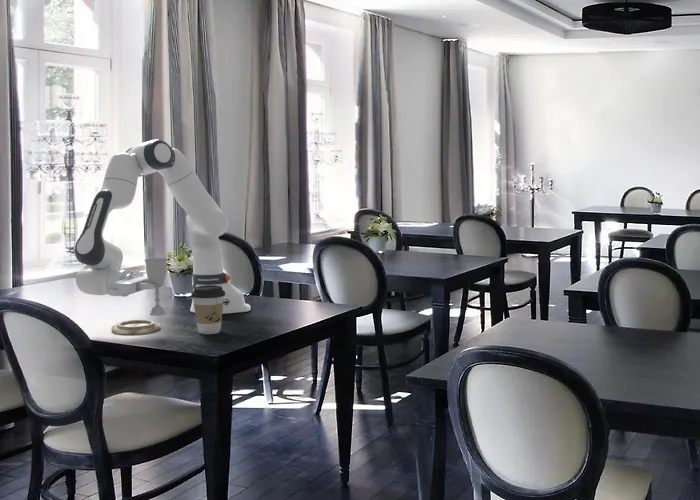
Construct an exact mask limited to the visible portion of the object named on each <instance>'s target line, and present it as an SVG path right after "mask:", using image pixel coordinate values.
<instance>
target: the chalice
mask: <svg viewBox="0 0 700 500" xmlns="http://www.w3.org/2000/svg"><path fill="white" fill-rule="evenodd" d="M167 261H168V258H164V257H158V258H157V257H155V258H154V257H153V258H146V259H144V262H145V266H146V267H145V268H146V272H147V277H148V280H149V282H150V283H155V289H154V290H155V291H154V292H155V293H154V295H155V298H154V301H155V305H154V306H153V307H152V309H151V311H150V314H149V316H153V317H154V316H155V317H158V316H159V317H160V316H165V315H167V313H166V311H165V310H164V307H163V306H161V305H160V301H161V298H160V294H161V293H160V291H159V290H160V288H161V287H163V286H162V284H163V282H164V281H165V279H166V276H167V264H166V263H167Z"/></svg>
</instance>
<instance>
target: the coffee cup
mask: <svg viewBox="0 0 700 500" xmlns="http://www.w3.org/2000/svg"><path fill="white" fill-rule="evenodd" d="M190 294H191V297H192V300H193V302H194V308H195V314H194V315H195V319H196V326H197V331H198V333H199V334H200V335H214V334H215V335H216V334H219V333H220V332H221V329H222V319H223V314H222V311H223V300H224V296H225V291H223V289H222V287H221V286H216V285H205V286H198V287H195V288H194V291H193V290H192V292H191V293H190Z"/></svg>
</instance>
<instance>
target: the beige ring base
mask: <svg viewBox="0 0 700 500" xmlns="http://www.w3.org/2000/svg"><path fill="white" fill-rule="evenodd" d="M160 330H161V324H160V323H159V322H156V321H154V320H151V319H142V318H141V319H130V320H123V321H120V322H117V323H116V324H114V325H112V326H111V333H113V334H115V333H116V335H121V334H127V335H126V336H129V335H131V336H135V335H136V336H137V335H147V334H151V333H155V332H158V331H160Z"/></svg>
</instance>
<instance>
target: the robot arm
mask: <svg viewBox="0 0 700 500" xmlns="http://www.w3.org/2000/svg"><path fill="white" fill-rule="evenodd" d="M156 172H157V173H158V174H160V175H161V176H162V178H163V180H164V182H165V184H166V185H167V187H168V188H169V191H170V192H171V194H172V195H173V196H174V198H175V201H176V202H177V204H179V206H180V207H181V208H182V209H183V210H184V212H185V213H186V214H187V215H186V217H185V222H186V225H187V227H188V235H189V240H190V244H191V251H192V268H193V269H192V270H193V271H192V275H191V283H192V284H191V285H192V288H193V290H192V292H193V291H194V288H195V287H198V286H205V285H216V286H221V287H222V289H223V291H225V296H224V300H223V311H222V315H223V314H232V313H233V314H234V313H246V312H249V311H251V309H252V308H251V305H250V304H249V303H246V302H245V297H244V294H243V292H242V291H241V290H240V289H239V288H237V287H236V286H234V285H233V284H232V283H230V282H229V281H230V280H231V275H229V274H228V273H226V272H224V258H223V256H224V253H223V249H222V247H221V243H220V239H219V237H221V236H223V235H224V234H225V233H226V231H228V228H229V219H228V216H226V214H225V212H224V211H222V210H221V208H220V207H219V205H218V204H217V203H216V201H215V200H214V198H213V197H212V196H211V195H210V194H209V192H208V191H207V189H206V188H205V186H204V185H203V183H202V182H201V180H200V178H199V176H198V175H197V173H196V172H195V170H194V168H193V167H192V164H191V163H190V162H189V160H188V159H187V158H186V157H185V155H184V154H183V153H182V152H181V151H180V150H179V149H178V148H175V147H171V145H169V144H168V143H167V142H166V141H164V140H162V139H151V140H148V141H144V142H141V143H138V144H137V145H135V146H132V147H130V148H129V149H127V150H126V151H125V152H118V153H115V154H113V155H112V156H111V158H110V160H109V162H108V165H107V167H106V171H105V174H104V179H103V182H102V185H101V189H100V190H99V192H97V194H96V195H95V196H94V199H93V200H92V203H91V206H90V208H89V211H88V212H89V213H88V215H87V217H86V219H85V224H84V227H83V229H82V232H81V234H80V236H79V237H78V239H77V240H76V243H75V245H74V255H75V258H76V259H77V261H78V262H79V263H81V264H83V265H84V266H83V267H82V269H80V270H78V271H77V273H76V275H75V284H76V287H77V288H78V290H79V291H80V292H82V293H83V294H86V295H93V296H105V295H106V296H110V297H126V298H127V297H128V296H129V295H133V294H135V293H139V292H142V291H145V290H155V283H150V282H149V280H148V277H147V271H143V272H142V271H140V270H138V269H132V270H130V269H121V266H122V263H123V257H124V256H123V252H122V250H121V248H120V247H119V246H116V245H115V244H114V243H111V242H109V241H107V240H105V238H104V235H103V233H104V230H105V227H106V225H107V224H106V223H107V221H108V218H109V215H110V213H111V212H112V211H113V210H122V209H124V208H127V207H129V206H130V205H131V204H132V203H133V200H134V198H135V196H136V190H137V186H138V179H139V177H143V176H147V175H148V176H149V175H151V174H154V173H156ZM165 285H166V281H165V280H164V282H163V284H162V286H161V287H163V286H165ZM189 310H190V312H192V313H195V308H194V302H193V299H191V306H190V309H189Z"/></svg>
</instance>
